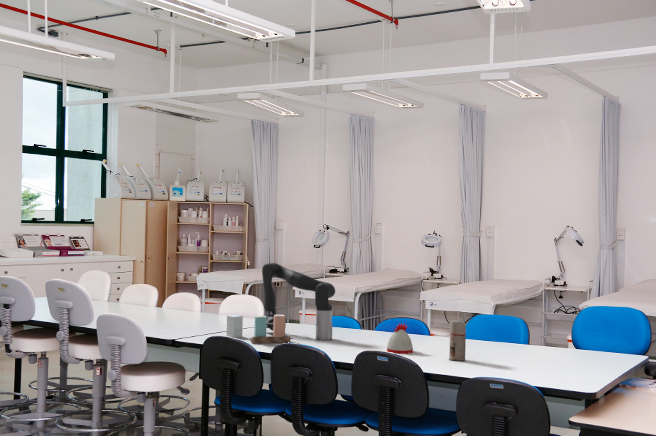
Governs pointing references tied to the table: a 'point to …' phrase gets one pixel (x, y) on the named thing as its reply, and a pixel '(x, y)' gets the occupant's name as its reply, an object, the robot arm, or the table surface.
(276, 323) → the salmon pink rectangular block
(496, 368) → the table surface
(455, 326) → the spray can
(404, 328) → the grey and red dome
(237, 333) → the small box
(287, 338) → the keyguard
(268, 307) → the robot arm
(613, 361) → the table surface
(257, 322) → the teal rectangular block
